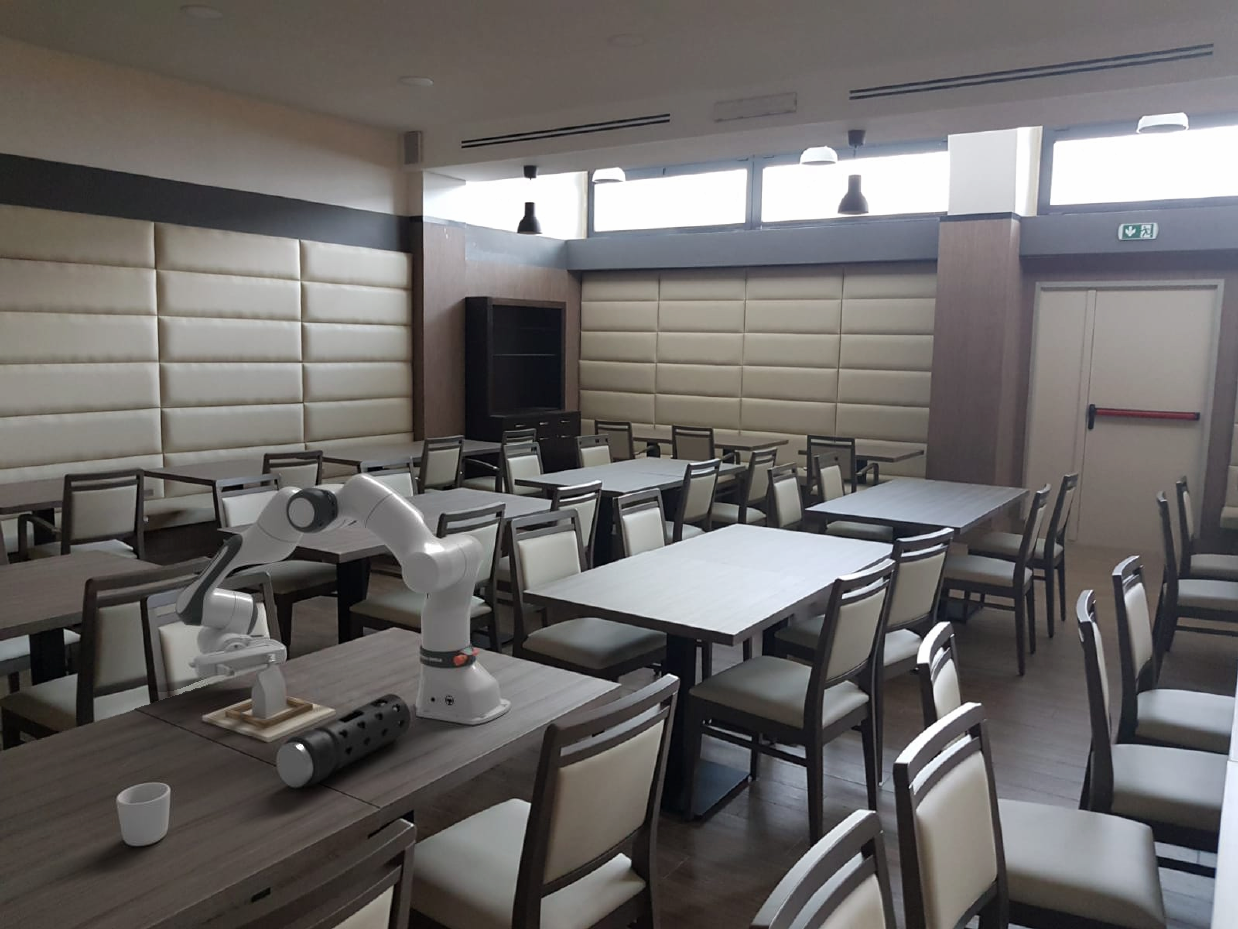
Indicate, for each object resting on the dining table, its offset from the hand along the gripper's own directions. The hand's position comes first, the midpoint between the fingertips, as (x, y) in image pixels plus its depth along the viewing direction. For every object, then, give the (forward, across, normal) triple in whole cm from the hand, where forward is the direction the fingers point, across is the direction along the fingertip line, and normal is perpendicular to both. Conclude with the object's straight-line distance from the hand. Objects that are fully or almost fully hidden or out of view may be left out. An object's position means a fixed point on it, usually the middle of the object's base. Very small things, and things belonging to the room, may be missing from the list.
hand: (252, 668), depth 209 cm
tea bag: (+10, 0, +8) cm, 12 cm away
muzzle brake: (+44, +3, +9) cm, 45 cm away
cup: (+47, -34, +9) cm, 59 cm away
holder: (+10, 0, +9) cm, 13 cm away
